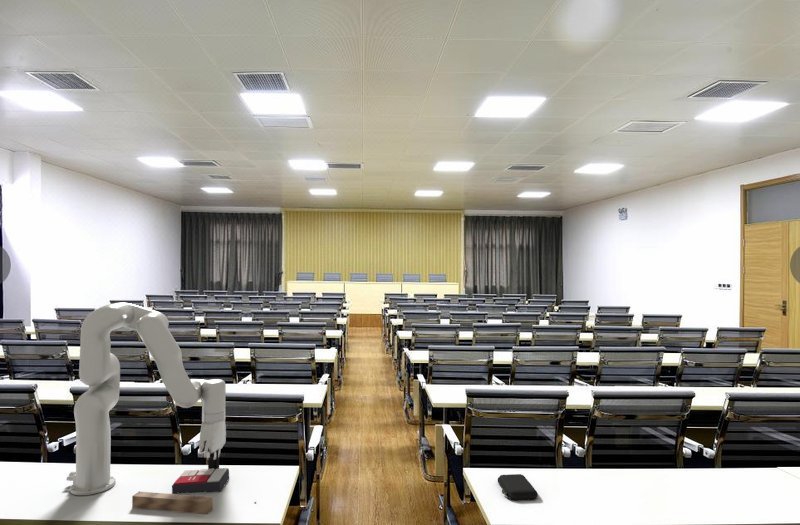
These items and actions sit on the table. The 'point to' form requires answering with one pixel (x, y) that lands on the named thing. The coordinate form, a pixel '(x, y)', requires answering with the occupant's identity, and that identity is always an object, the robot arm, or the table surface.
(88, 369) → the robot arm
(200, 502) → the bar
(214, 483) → the calculator
